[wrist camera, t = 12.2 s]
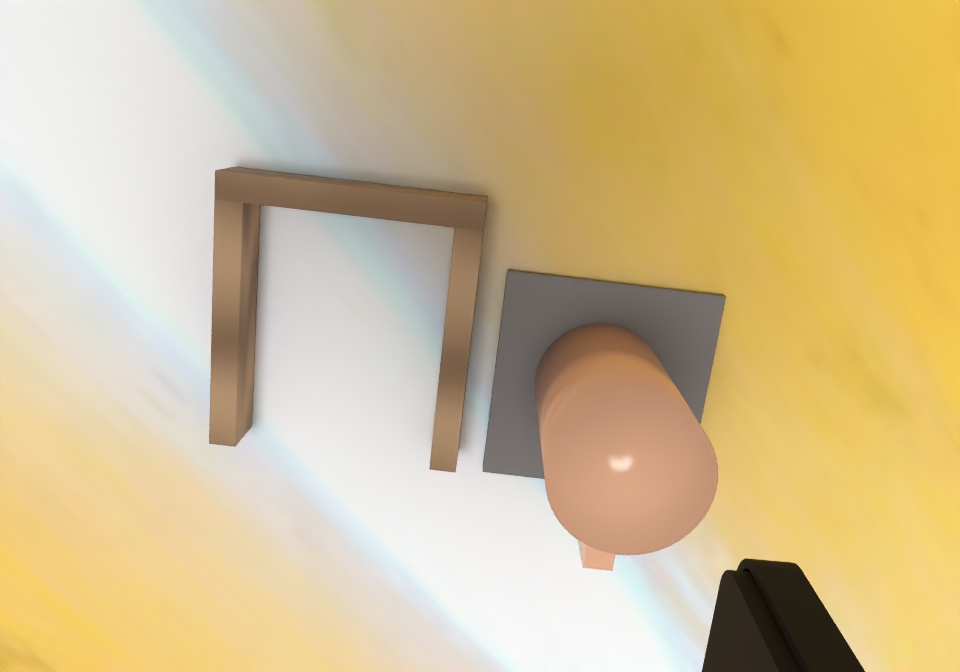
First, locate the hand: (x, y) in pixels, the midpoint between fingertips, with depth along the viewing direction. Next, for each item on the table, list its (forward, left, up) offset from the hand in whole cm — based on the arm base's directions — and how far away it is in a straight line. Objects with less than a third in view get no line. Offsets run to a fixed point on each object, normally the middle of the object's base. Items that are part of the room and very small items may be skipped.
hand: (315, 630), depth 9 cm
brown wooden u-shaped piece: (+4, -4, -28) cm, 29 cm away
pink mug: (+7, +7, -28) cm, 29 cm away
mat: (+6, +8, -28) cm, 30 cm away
